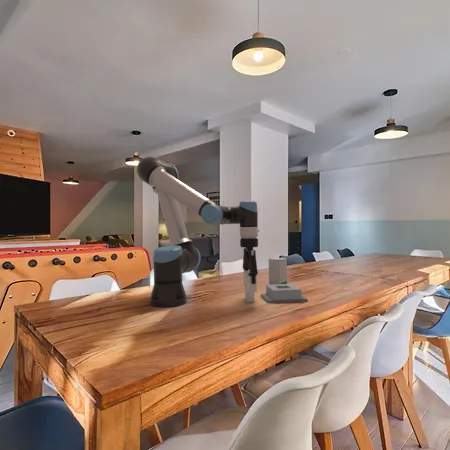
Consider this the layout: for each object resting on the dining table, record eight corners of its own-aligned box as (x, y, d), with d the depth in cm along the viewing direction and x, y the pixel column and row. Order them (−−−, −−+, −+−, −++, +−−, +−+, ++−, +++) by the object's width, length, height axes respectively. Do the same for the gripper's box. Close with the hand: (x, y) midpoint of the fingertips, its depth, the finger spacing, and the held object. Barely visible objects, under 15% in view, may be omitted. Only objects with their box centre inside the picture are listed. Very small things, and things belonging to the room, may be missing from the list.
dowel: (246, 302, 125) (245, 273, 125) (244, 300, 129) (244, 272, 129) (255, 302, 126) (255, 273, 126) (253, 299, 130) (253, 271, 130)
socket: (267, 303, 124) (267, 290, 124) (260, 296, 136) (260, 284, 136) (307, 301, 126) (307, 289, 126) (297, 294, 138) (296, 283, 138)
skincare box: (280, 292, 144) (279, 259, 144) (267, 290, 148) (267, 258, 148) (287, 289, 151) (287, 257, 151) (276, 287, 155) (275, 257, 155)
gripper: (264, 238, 116) (265, 294, 115) (251, 236, 140) (252, 282, 140) (245, 239, 115) (246, 295, 115) (235, 237, 139) (236, 283, 139)
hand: (249, 288), depth 127 cm, fingers open, 13 cm apart
